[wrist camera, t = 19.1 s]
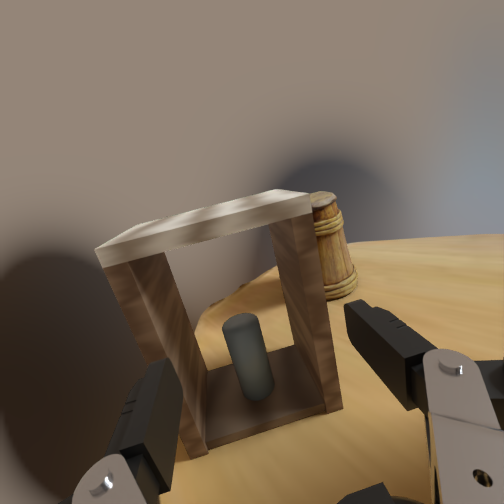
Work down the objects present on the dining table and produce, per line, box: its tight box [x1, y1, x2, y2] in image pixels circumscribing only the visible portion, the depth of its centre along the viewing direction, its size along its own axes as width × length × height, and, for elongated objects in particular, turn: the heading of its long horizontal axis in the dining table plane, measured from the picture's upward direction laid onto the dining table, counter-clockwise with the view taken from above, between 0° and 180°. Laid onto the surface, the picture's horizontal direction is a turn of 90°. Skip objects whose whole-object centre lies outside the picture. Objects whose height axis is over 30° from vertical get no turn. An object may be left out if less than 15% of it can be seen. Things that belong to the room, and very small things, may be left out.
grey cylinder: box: [222, 313, 275, 401], centre depth 38 cm, size 6×6×12 cm
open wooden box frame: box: [95, 189, 343, 460], centre depth 36 cm, size 22×14×30 cm, turn 99°
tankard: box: [309, 191, 358, 300], centre depth 63 cm, size 18×24×25 cm
